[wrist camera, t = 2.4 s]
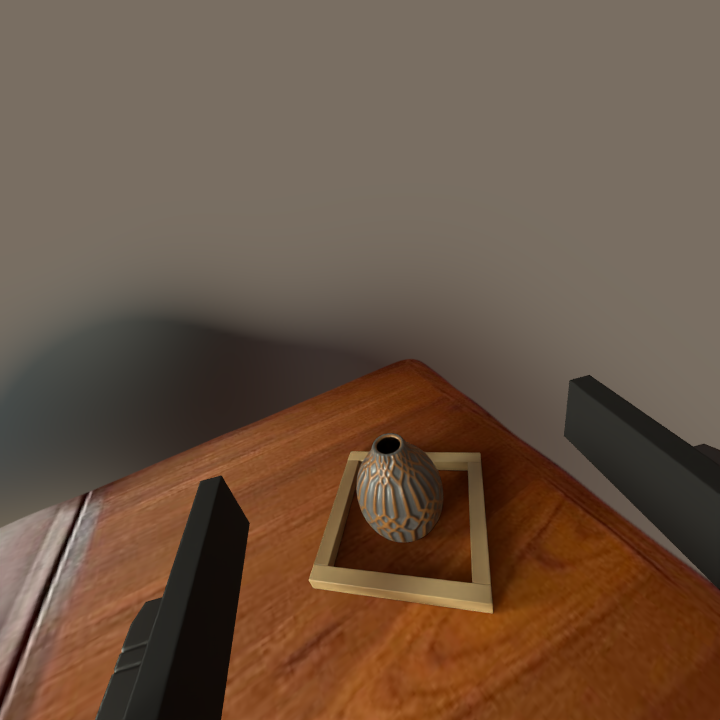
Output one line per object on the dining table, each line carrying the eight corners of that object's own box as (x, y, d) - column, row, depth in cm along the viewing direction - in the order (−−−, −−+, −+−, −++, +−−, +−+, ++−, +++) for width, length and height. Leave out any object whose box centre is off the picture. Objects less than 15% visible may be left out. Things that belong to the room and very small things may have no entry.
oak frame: (480, 461, 33) (480, 452, 33) (493, 614, 23) (492, 605, 22) (353, 459, 37) (350, 451, 37) (312, 588, 27) (308, 580, 26)
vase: (377, 569, 27) (351, 495, 23) (360, 498, 33) (337, 428, 29) (461, 541, 27) (451, 463, 23) (429, 476, 33) (416, 404, 29)
